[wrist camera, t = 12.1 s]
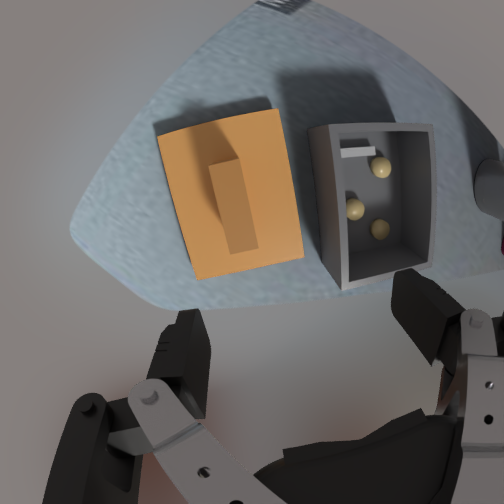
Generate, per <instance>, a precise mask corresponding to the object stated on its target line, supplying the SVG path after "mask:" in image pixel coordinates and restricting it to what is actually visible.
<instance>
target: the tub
mask: <svg viewBox="0 0 504 504" xmlns="http://www.w3.org/2000/svg"><path fill="white" fill-rule="evenodd" d="M307 134H308V141H309V147H310V154H311V161H312V169H313V176H314V184H315V193H316V202H317V211H318V222H319V233H320V245H321V258H322V264H323V265H324V266H325V268H326V269H327V271H328V272H329V273H330V275H331V276H332V278H333V279H334V280H335V282H336V283H337V285H338V286H339V288H340V289H341V291H342V290H347V289H351V288H355V287H359V286H363V285H367V284H371V283H375V282H379V281H383V280H387V279H391V278H394V274H395V272H396V271H400V270H404V269H408V268H413V269H414V270H416V271H420V270H423V269H426V268H430V267H432V261H433V253H434V242H435V229H436V208H437V175H436V154H435V141H434V131H433V124H419V123H344V124H328V125H323V126H318V127H313V128H308V129H307Z"/></svg>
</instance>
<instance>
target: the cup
mask: <svg viewBox="0 0 504 504" xmlns="http://www.w3.org/2000/svg"><path fill="white" fill-rule="evenodd" d="M501 251H502V254H503V255H504V239H503V242H502V247H501Z"/></svg>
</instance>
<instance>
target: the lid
mask: <svg viewBox="0 0 504 504" xmlns="http://www.w3.org/2000/svg"><path fill="white" fill-rule="evenodd" d="M157 138H158V143H159V147H160V151H161V155H162V159H163V163H164V167H165V171H166V175H167V179H168V183H169V187H170V191H171V194H172V198H173V202H174V205H175V209H176V212H177V216H178V220H179V223H180V226H181V230H182V233H183V237H184V240H185V243H186V246H187V250H188V253H189V256H190V259H191V263H192V266H193V269H194V272H195V275H196V278H197V280H201V279H206V278H211V277H216V276H220V275H225V274H230V273H235V272H239V271H244V270H249V269H253V268H258V267H262V266H267V265H272V264H276V263H281V262H285V261H290V260H294V259H299V258H303V257H304V250H303V243H302V236H301V230H300V223H299V217H298V211H297V204H296V198H295V192H294V187H293V181H292V175H291V170H290V165H289V159H288V154H287V149H286V144H285V139H284V134H283V129H282V124H281V119H280V115H279V110H278V108H277V109H270V110H264V111H258V112H253V113H247V114H242V115H237V116H232V117H228V118H223V119H219V120H215V121H210V122H206V123H202V124H198V125H195V126H191V127H187V128H184V129H180V130H177V131H173V132H170V133H167V134H163V135H160V136H157Z"/></svg>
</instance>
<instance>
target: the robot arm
mask: <svg viewBox="0 0 504 504" xmlns="http://www.w3.org/2000/svg"><path fill="white" fill-rule="evenodd" d="M474 190H475V199H476V203H477V205H478V207H479V209H480V210H481V211H482V212H484V213H486V214H489V215H491V216H493V217H495V218H498V219H500V220H502V221H504V162H501V161H497V160H492V159H486V160H484V161H483V162H482V163H481V164H480V166H479V168H478V170H477V174H476V178H475V186H474ZM391 310H392V313H393V316H394V317H395V318H396V320H397V321H398V322H399V324H400V325H401V326H402V327H403V329H404V330H405V331H406V333H407V334H408V335H409V337H410V338H411V339H412V341H413V342H414V343H415V345H416V346H417V347H418V349H419V350H420V351H421V353H422V354H423V355H424V357H425V358H426V360H427V361H428V362H429V364H430V365H431V367H432V366H434V365H436V364H439V363H441V362H442V363H443V364H444V366H443V368H442V371H441V379H440V387H439V394H438V400H437V406H436V410H435V413H434V415H427V416H425V414H424V413H423V411H422V409H421V408H420V409H418V410H415V411H413V412H411V413H408V414H406V415H404V416H401V417H399V418H396V419H394V420H391V421H390V422H388V423H387V424H385V425H384V426H382V427H381V428H379V429H378V430H376V431H374V432H372V433H371V434H369V435H367V436H366V437H364V438H362V439H360V440H351V441H334V442H318V443H313V444H308V445H304V446H299V447H293V448H287V449H283V455H284V458H281V459H279V460H277V461H274V462H272V463H270V464H268V465H267V466H265V467H263V468H262V469H260V470H259V471H258V472H256V473H255V474H254V475H252V474H251V473H250V472H249V471H247V470H246V469H245V468H244V467H243V466H242V465H241V464H240V463H239V462H238V461H237V460H236V459H234V457H233V456H232V455H230V453H228V451H227V450H226V449H225V448H224V447H222V445H221V444H220V443H219V442H218V441H217V440H216V439H215V438H214V437H213V436H212V435H211V434H210V433H209V431H208V430H207V429H206V428H205V427H204V426H203V425H202V424H201V423H198V422H196V420H195V419H205V416H206V415H205V414H206V403H207V392H208V380H209V369H210V359H211V346H210V340H209V337H208V334H207V331H206V328H205V325H204V322H203V319H202V316H201V313H200V310H199V309H190V310H182V311H179V313H178V316H177V319H176V323H175V324H172V325H168V326H167V327H166V328H165V330H164V331H163V332H162V333H161V335H160V338H159V341H158V345H157V347H156V350H155V351H156V352H155V353H154V356H153V359H152V362H151V365H150V368H149V371H148V374H147V378H146V380H143V381H141V382H139V383H138V384H136V385H135V386H134V387H133V388H132V389H131V391H130V392H129V395H128V397H127V398H123V399H119V400H114V401H110V402H107V401H106V400H105V399H104V398H103V396H101V395H100V394H97V393H88V394H85V395H83V396H81V397H80V398H79V399H78V400H77V401H76V402H75V403H74V405H73V407H72V409H71V412H70V415H69V417H68V420H67V422H66V425H65V428H64V431H63V433H62V436H61V439H60V442H59V445H58V448H57V451H56V455H55V458H54V461H53V464H52V468H51V471H50V475H49V478H48V482H47V486H46V490H45V494H44V498H43V503H42V504H138V494H139V485H140V476H141V468H142V460H143V454H145V453H150V452H153V453H154V455H155V457H156V458H157V460H158V462H159V463H160V465H161V466H162V468H163V469H164V471H165V472H166V474H167V475H168V476H169V478H170V479H171V481H172V482H173V483H174V485H175V486H176V487H177V489H178V490H179V491H180V493H181V494H182V495H183V497H184V498H185V499H186V500H187V501H188V503H189V504H504V312H503V315H502V316H501V317H495V318H491V317H490V316H489V315H488V314H487V313H485V312H484V311H482V310H479V309H468V310H466V309H464V308H463V307H462V306H461V305H460V304H459V303H458V302H457V301H456V300H455V299H454V298H452V297H451V296H450V295H449V294H447V293H446V291H444V290H443V289H441V287H440V286H439V285H438V284H436V283H435V282H434V281H433V280H430V279H428V278H426V277H424V276H421V275H420V274H419V273H418V272H417V271H416V270H414V269H413V268H408V269H404V270H400V271H396V272H395V274H394V278H393V288H392V298H391Z"/></svg>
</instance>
